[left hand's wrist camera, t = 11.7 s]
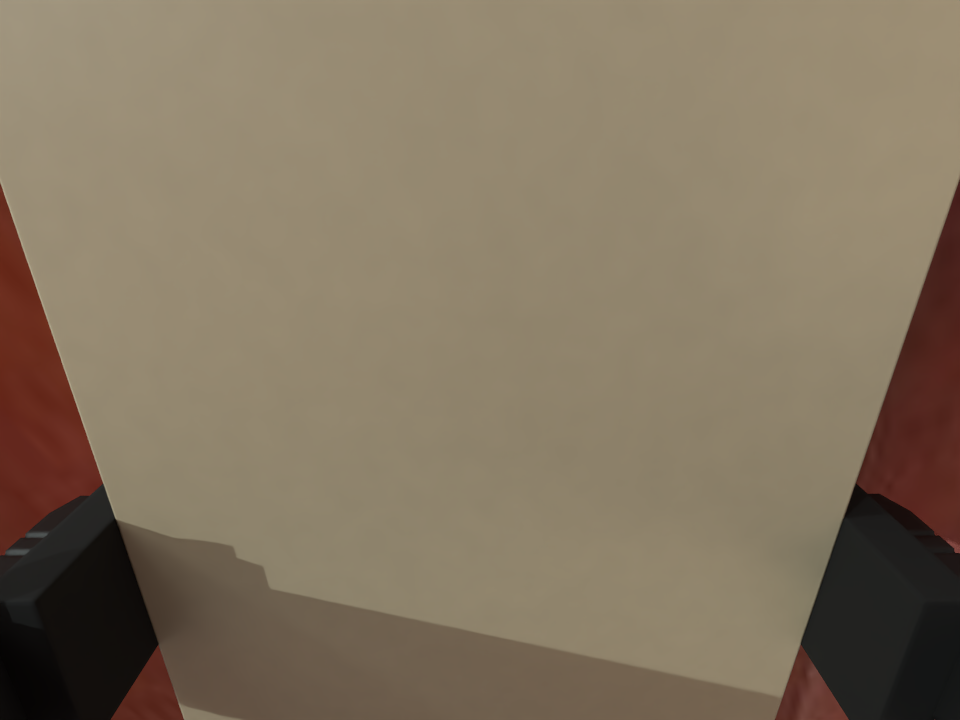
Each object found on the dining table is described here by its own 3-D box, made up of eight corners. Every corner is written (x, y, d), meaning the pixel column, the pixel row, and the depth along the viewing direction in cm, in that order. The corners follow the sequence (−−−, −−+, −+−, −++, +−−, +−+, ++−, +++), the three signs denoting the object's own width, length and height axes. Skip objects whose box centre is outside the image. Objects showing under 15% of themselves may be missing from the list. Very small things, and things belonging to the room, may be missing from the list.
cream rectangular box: (198, -273, 11) (-478, -1198, 3) (759, -273, 11) (1434, -1193, 3) (310, 464, 18) (185, 726, 10) (648, 464, 18) (774, 725, 10)
